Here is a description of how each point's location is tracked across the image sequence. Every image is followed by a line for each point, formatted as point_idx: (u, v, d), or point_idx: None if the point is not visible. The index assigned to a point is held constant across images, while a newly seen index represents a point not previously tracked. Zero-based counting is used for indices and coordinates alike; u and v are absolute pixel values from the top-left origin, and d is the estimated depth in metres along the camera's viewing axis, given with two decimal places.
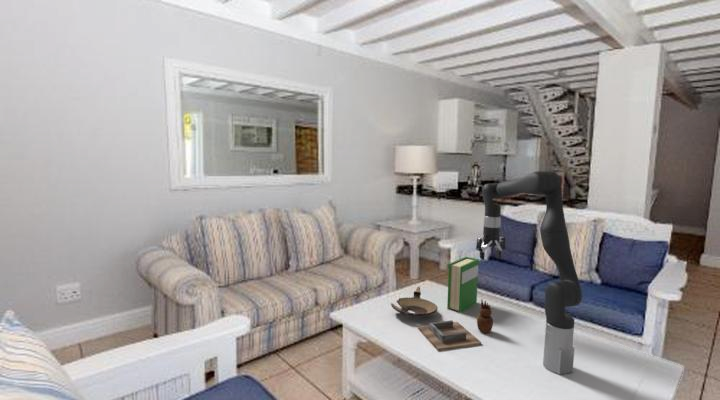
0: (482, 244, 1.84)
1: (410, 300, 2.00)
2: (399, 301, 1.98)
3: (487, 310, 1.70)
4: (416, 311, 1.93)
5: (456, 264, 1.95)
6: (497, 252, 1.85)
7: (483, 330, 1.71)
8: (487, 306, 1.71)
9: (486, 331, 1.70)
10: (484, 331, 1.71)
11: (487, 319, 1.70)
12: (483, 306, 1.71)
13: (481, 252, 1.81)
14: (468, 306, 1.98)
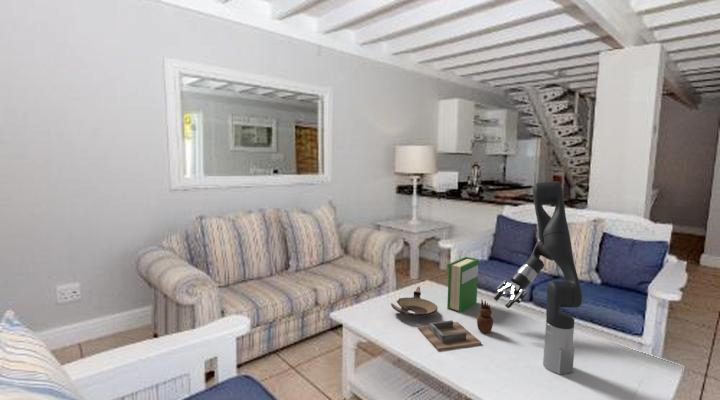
0: (507, 290, 1.78)
1: (410, 300, 2.00)
2: (399, 301, 1.98)
3: (487, 310, 1.70)
4: (416, 311, 1.93)
5: (456, 264, 1.95)
6: None
7: (483, 330, 1.71)
8: (487, 306, 1.71)
9: (486, 331, 1.70)
10: (484, 331, 1.71)
11: (487, 319, 1.70)
12: (483, 306, 1.71)
13: None
14: (468, 306, 1.98)
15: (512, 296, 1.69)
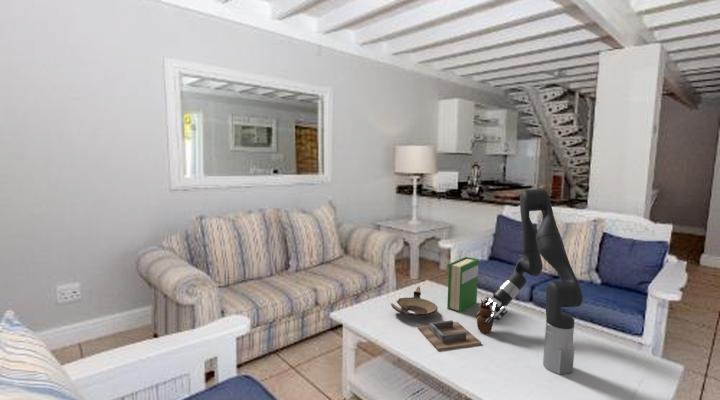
0: None
1: (410, 300, 2.00)
2: (399, 301, 1.98)
3: (487, 310, 1.70)
4: (416, 311, 1.93)
5: (456, 264, 1.95)
6: None
7: (483, 330, 1.71)
8: (487, 306, 1.71)
9: (486, 331, 1.70)
10: (484, 331, 1.71)
11: None
12: (483, 306, 1.71)
13: None
14: (468, 306, 1.98)
15: (492, 313, 1.69)
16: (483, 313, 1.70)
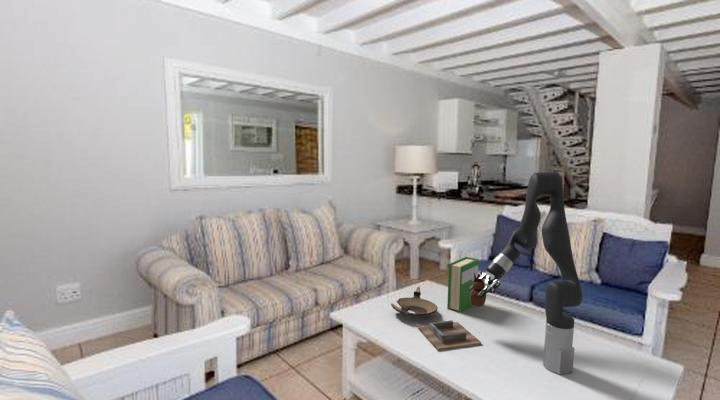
0: None
1: (410, 300, 2.00)
2: (399, 301, 1.98)
3: (480, 283, 1.67)
4: (416, 311, 1.93)
5: (456, 264, 1.95)
6: None
7: (476, 304, 1.68)
8: (480, 279, 1.69)
9: (479, 305, 1.68)
10: (477, 305, 1.68)
11: None
12: (476, 279, 1.69)
13: None
14: (468, 306, 1.98)
15: (485, 286, 1.66)
16: (476, 286, 1.67)
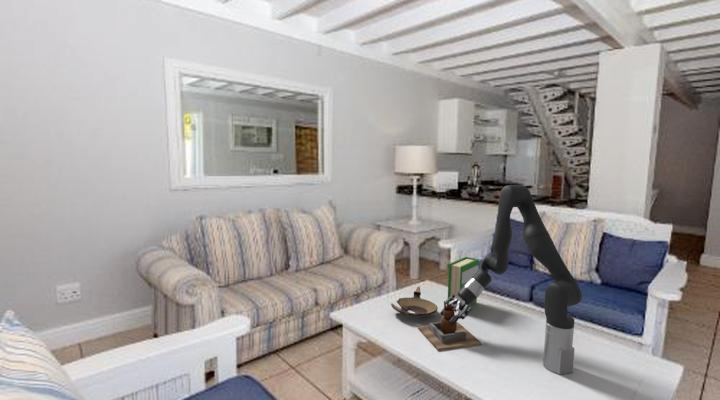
0: None
1: (410, 300, 2.00)
2: (399, 301, 1.98)
3: (450, 312, 1.65)
4: (416, 311, 1.93)
5: (456, 264, 1.95)
6: None
7: (446, 332, 1.66)
8: (450, 308, 1.66)
9: None
10: (448, 333, 1.66)
11: None
12: (446, 308, 1.67)
13: None
14: None
15: (457, 312, 1.63)
16: (446, 315, 1.65)
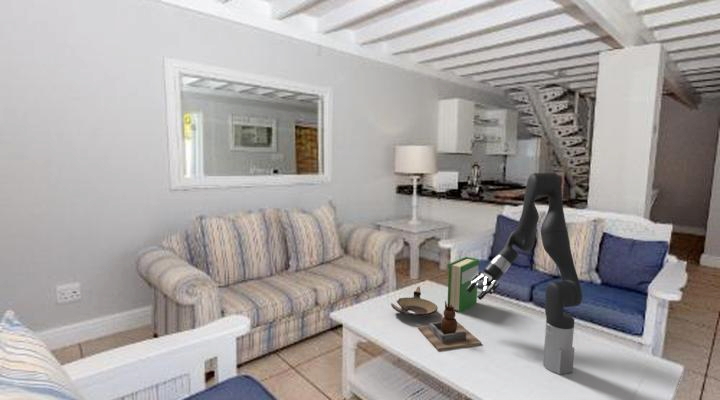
0: None
1: (410, 300, 2.00)
2: (399, 301, 1.98)
3: (451, 312, 1.65)
4: (416, 311, 1.93)
5: (456, 264, 1.95)
6: None
7: (447, 332, 1.66)
8: (451, 308, 1.66)
9: None
10: (448, 333, 1.66)
11: (451, 321, 1.65)
12: (447, 308, 1.67)
13: (471, 283, 1.74)
14: (468, 306, 1.98)
15: (484, 287, 1.65)
16: (447, 315, 1.65)
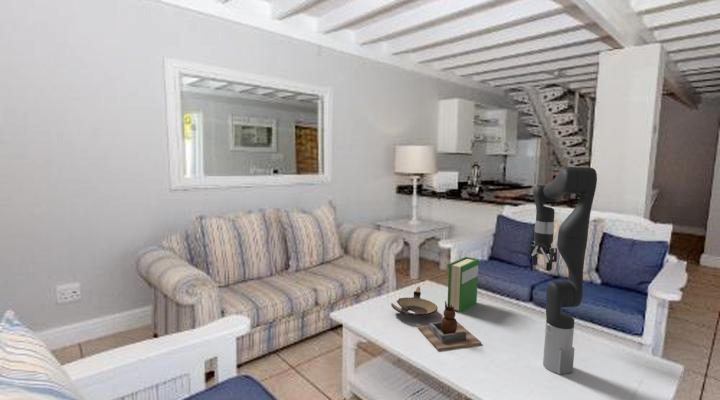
0: None
1: (410, 300, 2.00)
2: (399, 301, 1.98)
3: (451, 312, 1.65)
4: (416, 311, 1.93)
5: (456, 264, 1.95)
6: None
7: (447, 332, 1.66)
8: (451, 308, 1.66)
9: None
10: (448, 333, 1.66)
11: (451, 321, 1.65)
12: (447, 308, 1.67)
13: (532, 256, 1.73)
14: (468, 306, 1.98)
15: (546, 258, 1.63)
16: (447, 315, 1.65)
